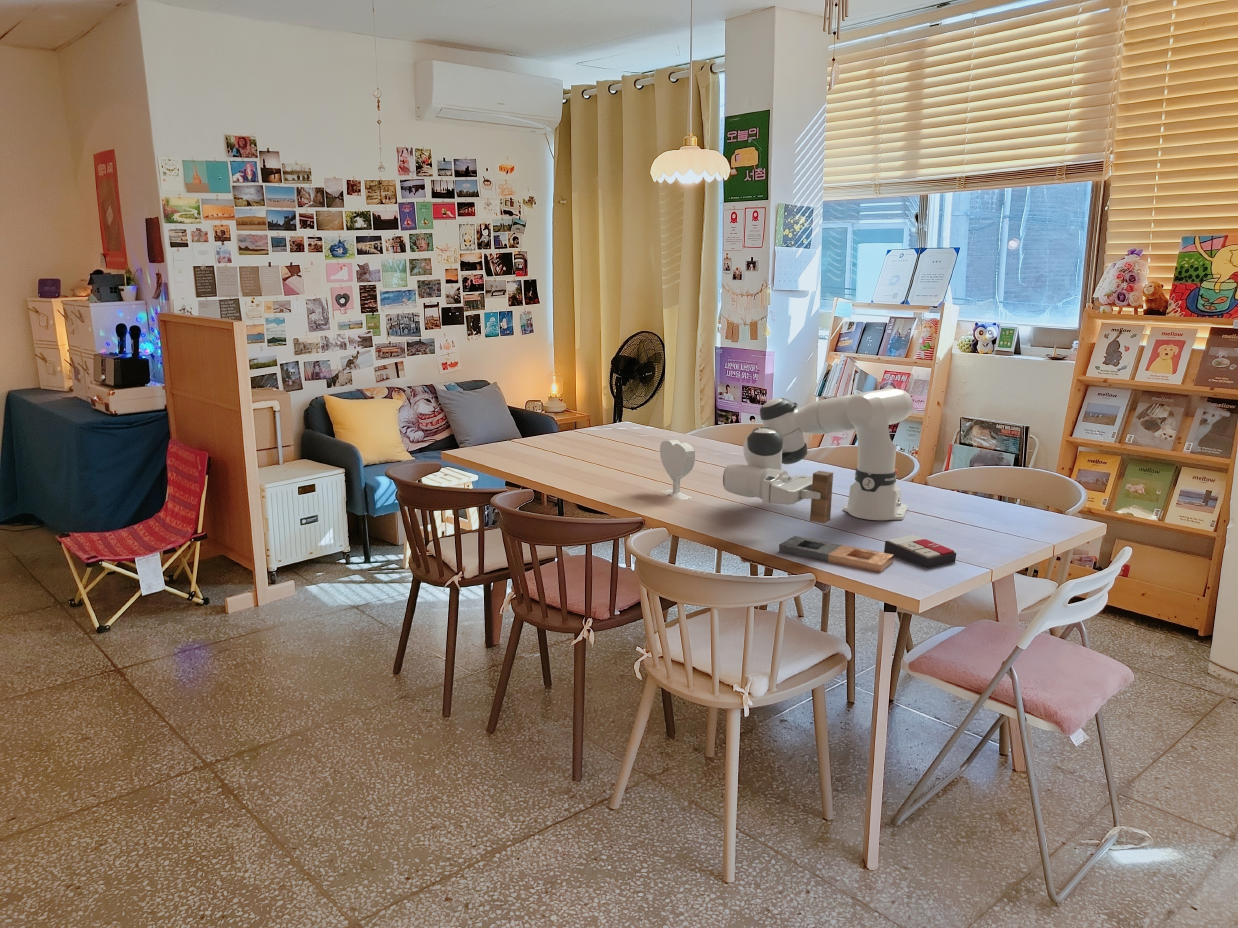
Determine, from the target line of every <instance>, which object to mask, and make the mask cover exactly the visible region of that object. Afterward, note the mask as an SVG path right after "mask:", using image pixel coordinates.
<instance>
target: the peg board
mask: <svg viewBox="0 0 1238 928" xmlns="http://www.w3.org/2000/svg"><path fill="white" fill-rule="evenodd" d="M778 546H779V547H778V552H779V553H783V554H788V555H792V556H797V557H801V558H807V559H812V560H818V561H823V562H825V563H826V562H827V563H831V564H837V565H842V566H848V567H850V568H851V567H852V568H857V569H862V570H868V571H871V572H876V573H881V572H883V571H884V570H885V569H887V568H888V567H890V566H891V565H893V563H894V559H895V557H894V555H893V554H888V553H884V552H882V551H876V550H872V549H866V548H860V547H855V546H851V545H844V544H839V543H835V542H834V543H833V542H829V541H823V540H819V539H812V538H808V537H803V536H798V535H794V536H792V537H790V538H789V539H787V540H784V541H783V542H782V543H780V544H778Z"/></svg>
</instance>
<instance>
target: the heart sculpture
mask: <svg viewBox="0 0 1238 928" xmlns="http://www.w3.org/2000/svg"><path fill="white" fill-rule="evenodd" d="M659 451H660V452H659V453H660V454H659V455H660V456H659V457H660V460H661V463H662V464H661V465H662V466H663V468H664V470H665V472H666V473H667V474H668V476H669V477H670V479H671V481H672V489H666V490H667V491H664V490H662V491H663V492H665V493H667V494H666V495H668V494H670V495H672V496H671V497H673V496H674V497H673V498H675V497H676V498H675V499H678V498H679V499H678V500H689V499H688V498H690V499H692V498H693V496H689V495H687V494H684V493H682V492H681V480H682V479H683V478H685V477H686V476H688V475H689V474H690V473H691V471H692V470H693V468H694V466H695V461H696V450H695V449H694V447H693V446H692V445H691V444H689V443H687V442H681V441H679V439H670V440H663V441H661V443H660V447H659ZM663 492H662V493H663ZM665 493H664V494H665ZM670 495H669V496H670Z"/></svg>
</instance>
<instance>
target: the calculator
mask: <svg viewBox="0 0 1238 928" xmlns="http://www.w3.org/2000/svg"><path fill="white" fill-rule="evenodd" d="M883 548H884V549H883V550H884V551H883V553H888V554H893V555H894V558H899V559H901V560H903V561H905V562H908V563H911V564H912V565H915V566H918V567H922V568H924V569H932V568H935V567H941V566H946V565H950V564H952V563H956V560H957V552H955V550H954V549H951V548H949V547H946V546H944V545H941V544H939V543H937V542H933V541H932V540H929V539H926V538H922V537H920V536H917V535H915V534H912V535H907V536H901V537H896V538H892V539H888V540H885V541H884V547H883Z"/></svg>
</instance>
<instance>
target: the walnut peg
mask: <svg viewBox="0 0 1238 928" xmlns="http://www.w3.org/2000/svg"><path fill="white" fill-rule="evenodd" d="M812 476H813V480H812V491H819V492H822V498H820V499H810V500H811V501H810V515H809V518H810V519H809V522H813V523H820V524H825V523H827V522H829V521H831V513H832V512H831V511H832V499H833V498H832V496H833V483H834V482H833V481H834V472H831V471H823V470H817V471H815V472H813V473H812Z"/></svg>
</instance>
